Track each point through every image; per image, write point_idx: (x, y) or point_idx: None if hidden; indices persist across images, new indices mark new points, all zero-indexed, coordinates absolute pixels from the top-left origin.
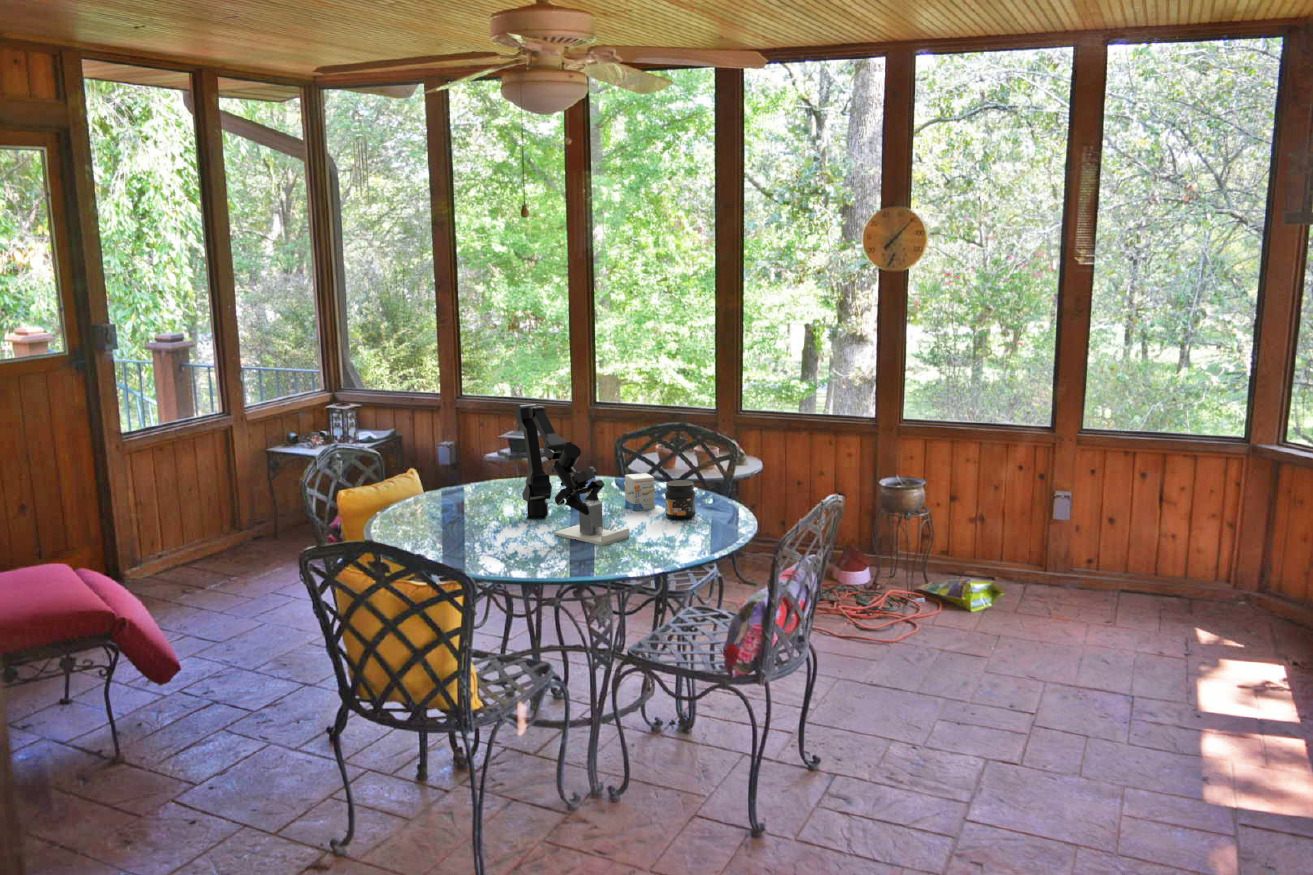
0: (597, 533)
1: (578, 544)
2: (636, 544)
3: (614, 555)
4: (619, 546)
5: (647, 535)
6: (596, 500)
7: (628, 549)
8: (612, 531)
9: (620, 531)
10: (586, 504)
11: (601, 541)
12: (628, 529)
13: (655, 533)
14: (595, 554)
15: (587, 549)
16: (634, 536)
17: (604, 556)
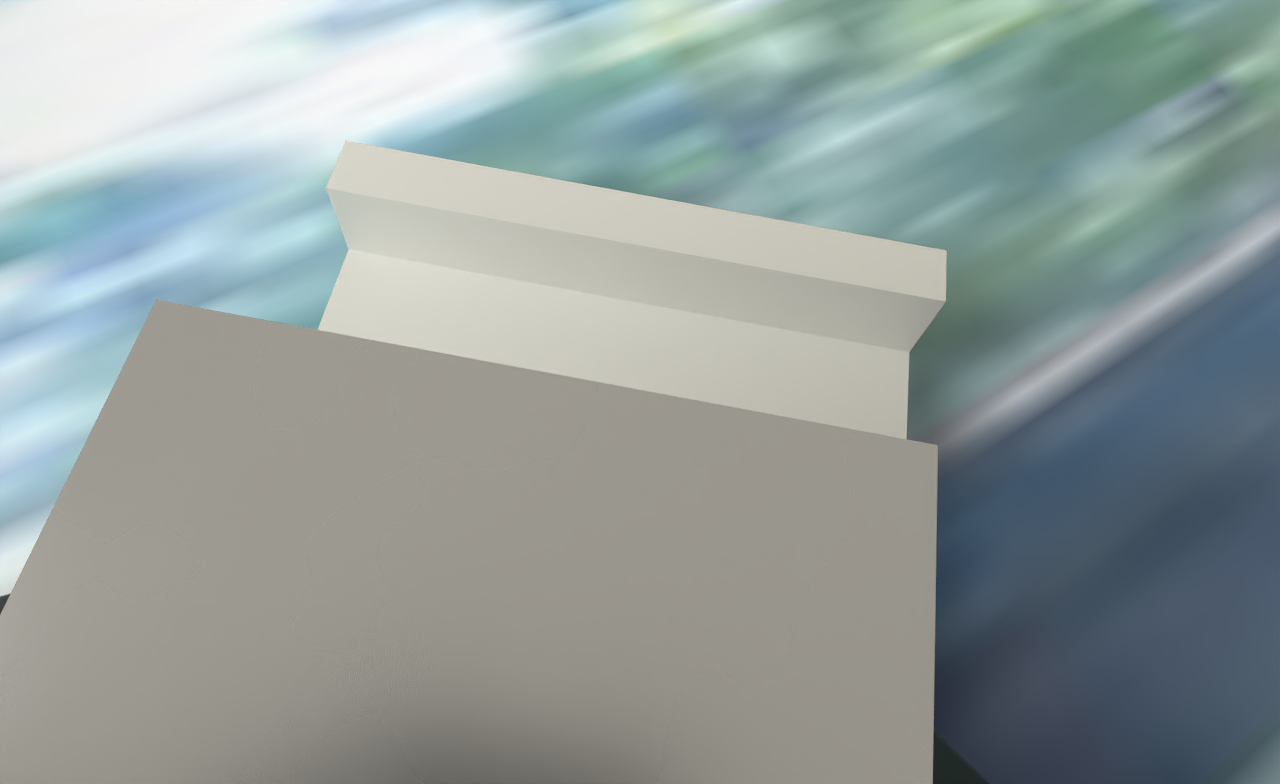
0: None
1: (1068, 711)
2: (642, 47)
3: (1129, 69)
4: (814, 163)
5: (203, 89)
6: (46, 617)
7: (860, 42)
8: None
9: (555, 183)
10: (915, 708)
11: (911, 346)
12: (363, 155)
13: (77, 48)
14: (1249, 246)
15: (1168, 436)
16: (302, 198)
17: (1229, 134)
